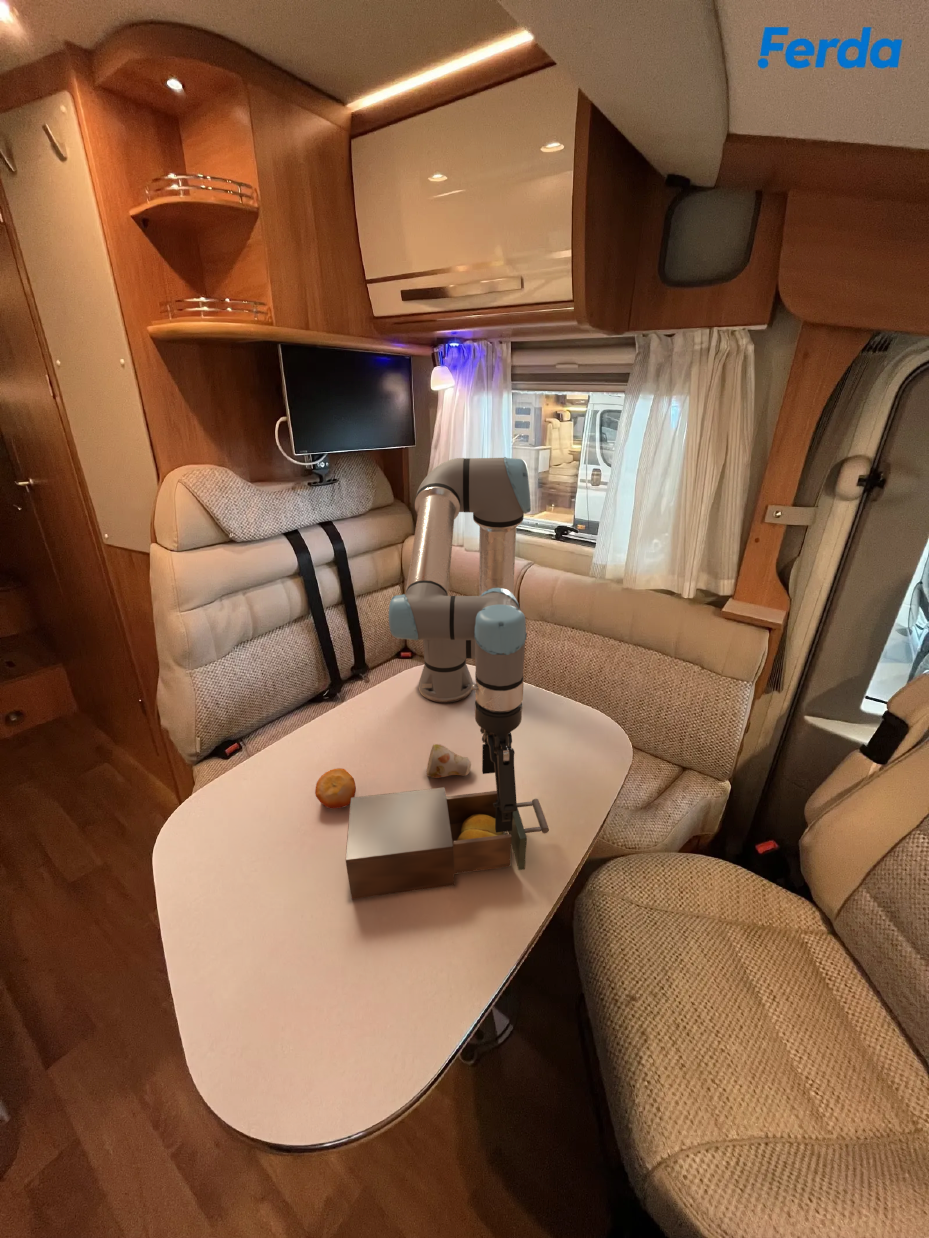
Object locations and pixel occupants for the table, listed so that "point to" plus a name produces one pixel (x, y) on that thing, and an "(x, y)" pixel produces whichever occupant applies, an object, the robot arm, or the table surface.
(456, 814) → the drawer
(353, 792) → the fruit
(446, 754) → the spotted paper cup
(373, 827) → the cabinet
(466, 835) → the bread roll
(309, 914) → the table surface
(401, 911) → the table surface
